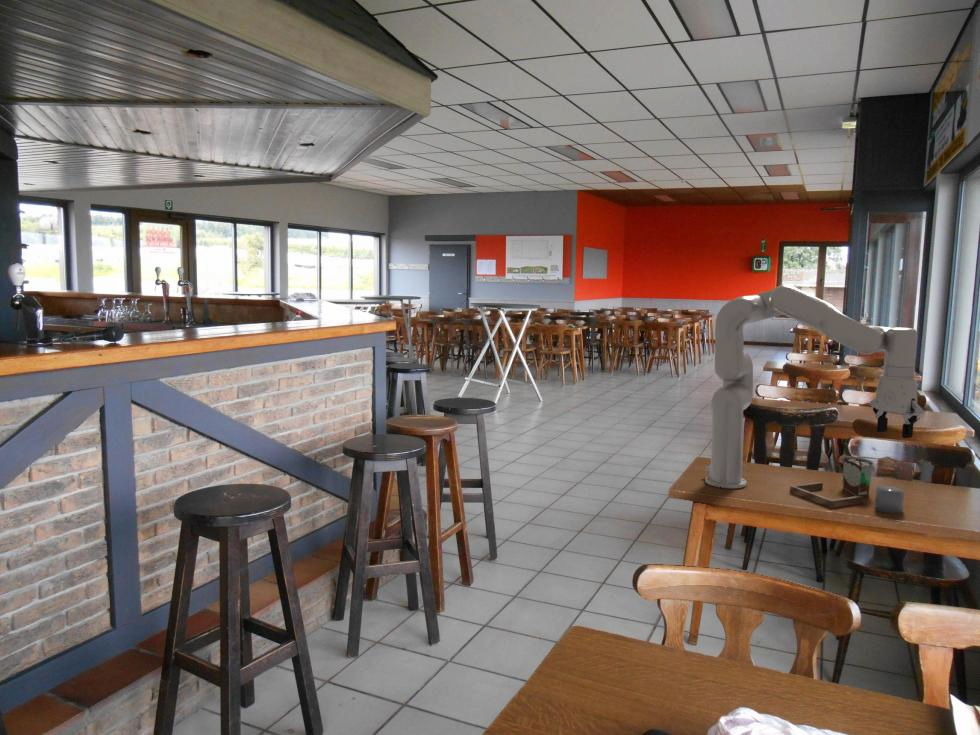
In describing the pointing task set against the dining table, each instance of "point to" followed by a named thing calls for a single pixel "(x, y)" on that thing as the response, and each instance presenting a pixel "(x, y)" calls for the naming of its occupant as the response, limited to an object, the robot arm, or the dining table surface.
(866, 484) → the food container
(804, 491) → the frame
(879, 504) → the grey glossy rounded part
